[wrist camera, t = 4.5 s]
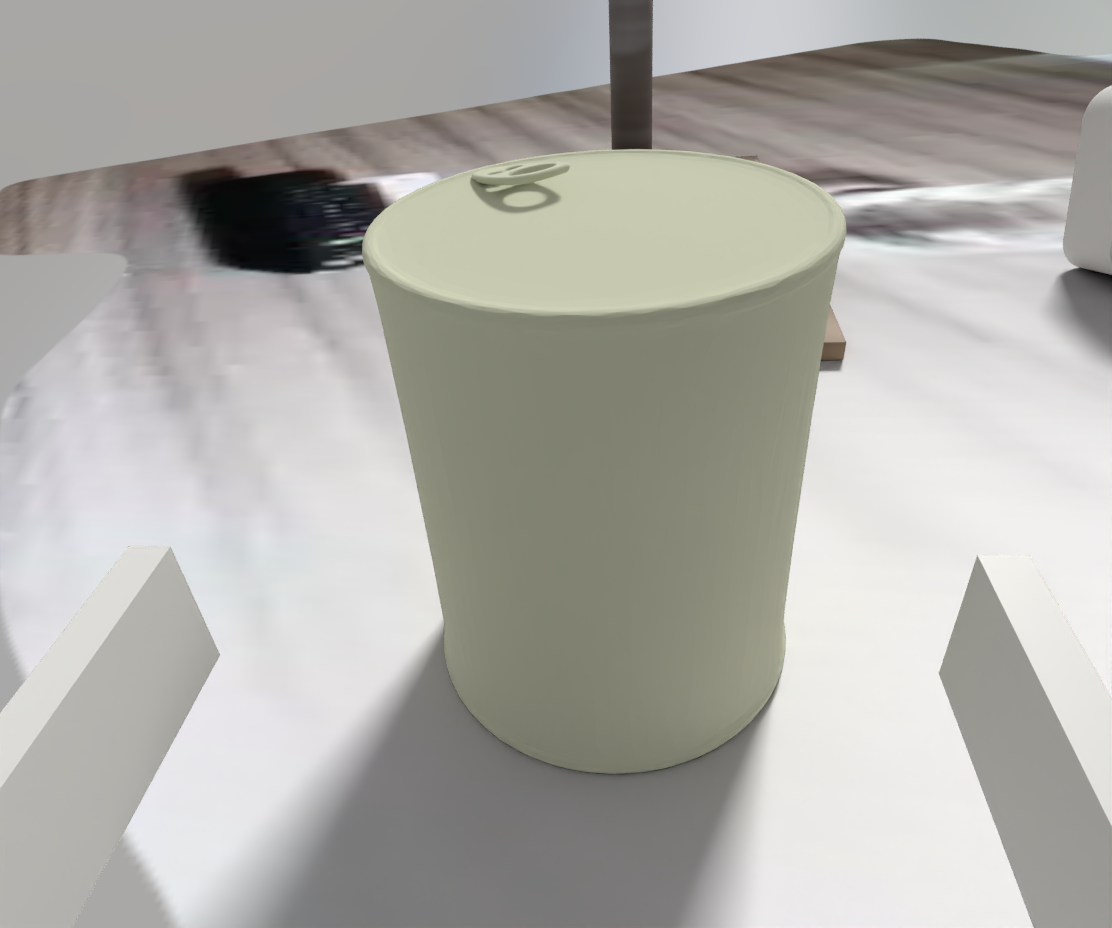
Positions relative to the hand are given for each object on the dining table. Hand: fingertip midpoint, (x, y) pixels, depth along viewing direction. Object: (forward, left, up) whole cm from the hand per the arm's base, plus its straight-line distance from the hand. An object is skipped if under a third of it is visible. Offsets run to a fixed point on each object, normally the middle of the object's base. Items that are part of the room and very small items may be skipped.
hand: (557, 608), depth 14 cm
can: (+3, -5, -7) cm, 9 cm away
